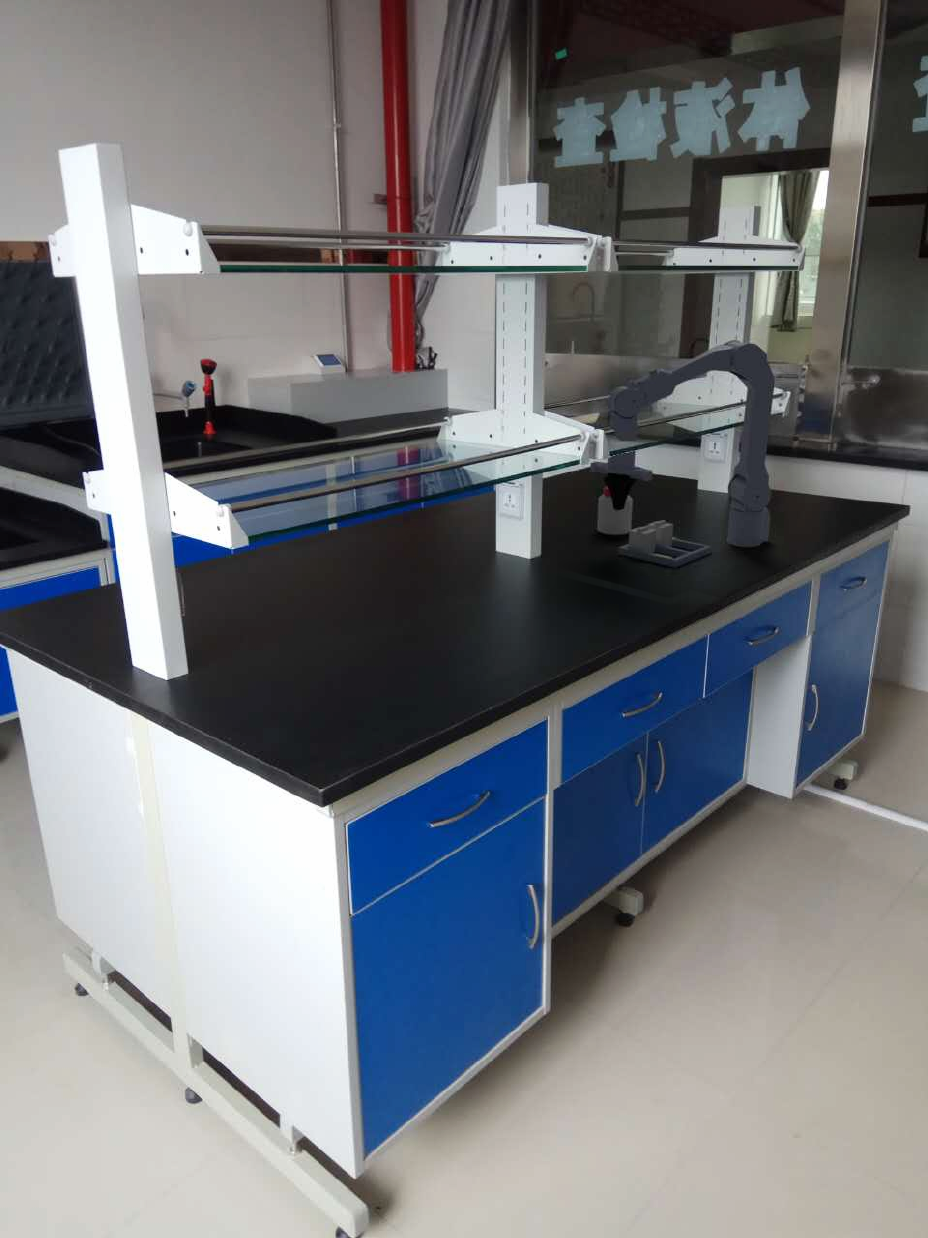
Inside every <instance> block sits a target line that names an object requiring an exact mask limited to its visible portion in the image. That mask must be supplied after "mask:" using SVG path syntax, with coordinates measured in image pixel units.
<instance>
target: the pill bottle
mask: <svg viewBox="0 0 928 1238" xmlns="http://www.w3.org/2000/svg"><path fill="white" fill-rule="evenodd" d="M633 501H634V500H633V498H632V497H631V496H630V494H628V497H627V500H626V503H625V506H624V509H622V510H614V509H613V504H612V499H611V495H610V492H609V489H608V487H607V485H606V486H605V487H604V488H603V494H602V495H601V496H599V497H598V507H597V508H598V509H597V510H598V511H597V526H596V527H597V532H600V533H602V534H606V535H615V536H617V535H618V536H619V535H625V534H629V533H630V530H632V521H633V520H632V519H633V503H634V502H633Z"/></svg>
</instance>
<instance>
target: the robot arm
mask: <svg viewBox="0 0 928 1238" xmlns="http://www.w3.org/2000/svg"><path fill="white" fill-rule="evenodd" d="M711 371H717V372H728V373H729V374H732V375H734V376H736V377H737V379H738V380H739V381H741V383H743V384H744V386H745V387H746V388H747V389H746V399H745V409H744V417H743V424H742V433H741V434H742V435H741V443H740V449H739V451H740V453H739V460H738V462H737V464H736V465H735V467H734V468H733V474H732V476H731V478H730V479H729V481H728V485H727V494H728V496H729V497H730V498H731V502H730V507H729V515H728V524H727V525H728V527H727V536H726V537H727V538H726V539H727V540H726V542H727V544H729V545H731V546H735V547H741V548H754V547H758V546H759V547H760V545H762V543H764V542H769V536H770V535H769V534H770V525H771V514H770V511H769V509H768V508H767V507H766V506H767V505H768V504H769V503H770V500H771V498H772V491H771V488H770V485H769V483H770V481H769V480H770V476H769V473H768V470H767V467H766V457H767V449H768V441H769V432H770V427H771V426H770V424H771V419H772V417H771V416H772V409H773V402H774V392H775V385H776V383H775V382H776V379H775V375H774V373H773V371H772V368H771V366H770V363H769V362H768V353H766V352H765V351H764V350H763V349H762V348H761V347H759V346H758V345H757V344H756V343H751V342H750V343H749V342H748V343H747V342H743V341H739V340H737V339H735V340H733V339H732V340H727V342H725V343H723V344H721V343H720V344H718V345H714V347H712V348H710V349H708V350H705V351H704V352H702V353H701V354H699V355H696V356H695V357H693V358H691V359H690V360H688V361H686V362H684V363H682V364H681V365H679V366H676V367H675V368H672V369H671V370H666V369H663V368H660V369H658V370H657V369H656V368H652V369H650V370H649V371H648V374H647V375H644V376H643V377H641V378H639V379H637V380H629V381H628V382H627V386H625V385H624V386H623V385H621V386H618V387H615V388H614V389H612V391H611V392H610V394H609V396H608V399H607V400H606V404H607V407H608V409H609V410H610V416H609V417H610V419H609V427H608V429H609V428H610V429H613V430H614V431H615V436H616V438H617V439H619V440H620V441H636V442H637V437H638V433H637V432H638V415H639V413H641V412H642V410H643V408H644V409H645V408H647V407H649V406H651V405H653V404H655V403H657V402H659V401H661V400H664V399H666V398H667V397H670V396H672V394H673V393H674V390H675V388H676V387H677V386H678V385H682V384H684V383H685V382H688V381H690V380H693V379H695V378H697V377H699V376H702V375H704V374H707V373H709V372H711ZM590 472H592V473H596V472H597V473H601V474H607V476H604V480H603V482H604V484H605V485H606V486H607V487H608V489H609V492H610V495H611V499H612V504H613V509H614V510H622V509H624V506H625V503H626V500H627V497H628V495H630V491H631V490H632V488H633V486H634V485H635V484H636V482H637V480H642V481H643V482H649V481H652V480H653V470H649V469H645V468H642V467H639V466H636V451H633V452H629V453H623V454H619V455H615V456H612V457H610V458H608V457H607V462H602V461H593V463H592V462H590Z"/></svg>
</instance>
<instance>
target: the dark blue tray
mask: <svg viewBox="0 0 928 1238" xmlns="http://www.w3.org/2000/svg"><path fill="white" fill-rule="evenodd" d="M680 548H681V549H680ZM712 548H713V546H710V545H708V544H707V545H706V544H702V543H697V542H693V541H688V540H683V539H679V538H677V537H675V536H672V547H667V546H662V545H658V544H655V553H653V554H652V553H647V552H643V551H639V550H635V549H630V548H629V543H628V544H625V545H621V546H620V547H618V555H621V556H627V557H629V558H634V559H638V560H643V561H646V562H650V563H655V564H659V565H663V566H667V567H671V568H678V567H680V566H682V565H685V564H688V563H690V562H692V561H695V560H698V559H700V558H702V557H705V556H707V555H710V554H712V550H713V549H712ZM683 549H685V550H683ZM674 557H675V558H674Z"/></svg>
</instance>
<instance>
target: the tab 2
mask: <svg viewBox="0 0 928 1238" xmlns="http://www.w3.org/2000/svg"><path fill="white" fill-rule="evenodd" d="M646 526H649V529H653V530H656V543H655V544H658V545H662V546H667V547H671V548H673V546H672V537H673V532H674V530H673V529H674V524H673V523H668V522H667V521H666V520H664V519H662V520H660V521H659V520H657V521H654V522H651V523H648V524H646Z"/></svg>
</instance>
